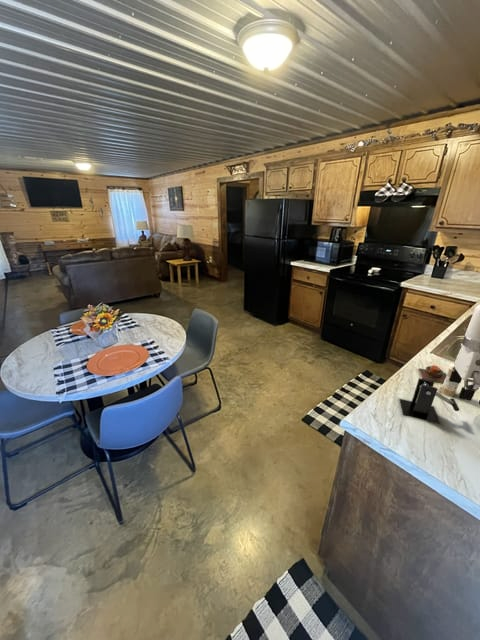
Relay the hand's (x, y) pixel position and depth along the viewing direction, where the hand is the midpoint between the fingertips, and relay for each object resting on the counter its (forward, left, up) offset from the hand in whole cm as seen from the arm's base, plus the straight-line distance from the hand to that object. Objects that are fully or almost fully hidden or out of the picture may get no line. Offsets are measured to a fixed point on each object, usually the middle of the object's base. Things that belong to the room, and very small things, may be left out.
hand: (459, 390), depth 86 cm
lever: (+5, 0, -5) cm, 7 cm away
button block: (-2, -27, -13) cm, 30 cm away
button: (-2, -29, -10) cm, 30 cm away
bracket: (+9, 0, -13) cm, 16 cm away
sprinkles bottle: (-4, -17, -13) cm, 21 cm away
